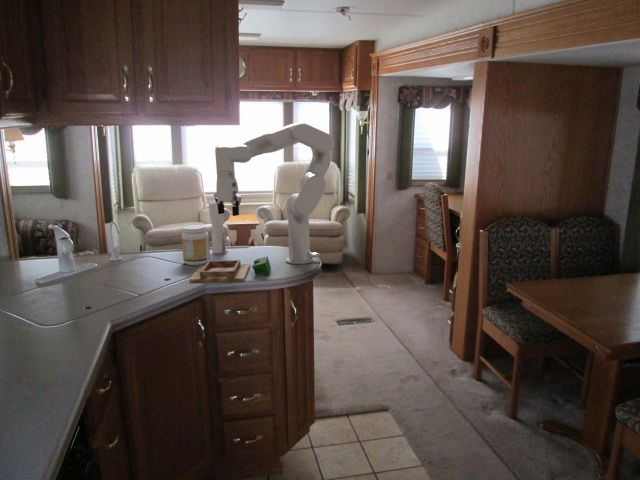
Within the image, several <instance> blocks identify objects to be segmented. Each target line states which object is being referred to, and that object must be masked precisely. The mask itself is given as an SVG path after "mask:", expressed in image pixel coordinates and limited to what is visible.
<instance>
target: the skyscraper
mask: <svg viewBox="0 0 640 480" xmlns="http://www.w3.org/2000/svg"><path fill="white" fill-rule="evenodd" d="M207 200H208V211H209V219H210V224H211V248H212V250H211V251H212V253H211V255H226V254H228V252H229V250H227V249H226V247H227V245H226V236H225V235H226V234H225V228H224V219H225V213H223V214H218V205H217V204H216V203H217V202H216V201H215V200H214V199H212V198H211V197H208V198H207ZM210 200H211V201H212V202H210ZM223 204H224V205H225V203H223Z"/></svg>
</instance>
